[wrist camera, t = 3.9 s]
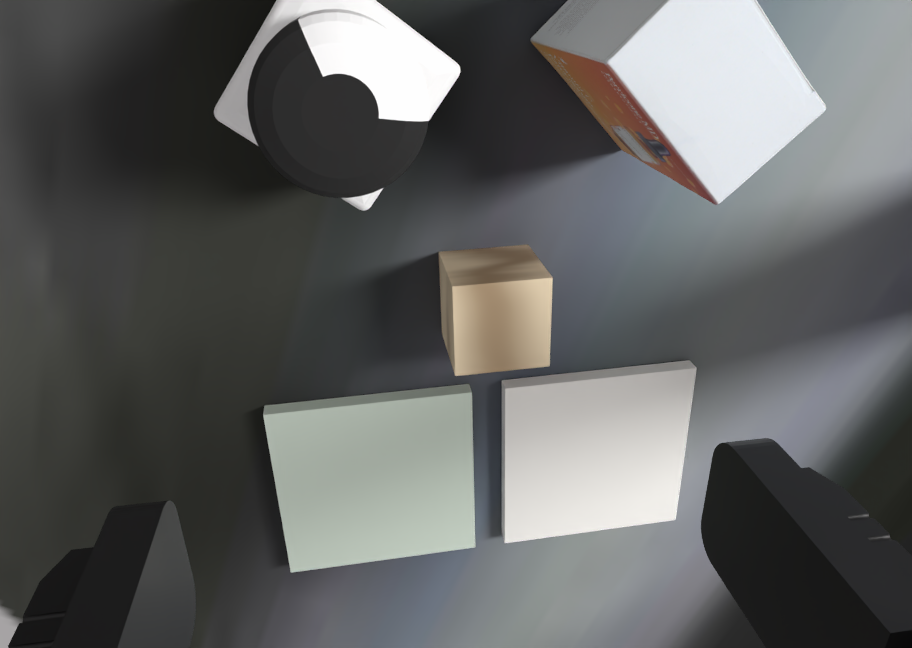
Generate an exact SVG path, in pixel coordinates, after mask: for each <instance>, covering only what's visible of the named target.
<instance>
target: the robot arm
mask: <svg viewBox="0 0 912 648" xmlns="http://www.w3.org/2000/svg"><path fill="white" fill-rule="evenodd" d="M701 533H702V539H703V544H704V547H705V551H706V553H707V556H708V558H709V560H710V562H711V564H712V565H713V567H714V568H715V570H716V571H717V573H718V575H719V576H720V578H721V579H722V581H723V582H724V584H725V585H726V587H727V589H728V590H729V592H730V593H731V595H732V596H733V598H734V599H735V601H736V603H737V604H738V606H739V607H740V609H741V610H742V612H743V613H744V615H745V616H746V618H747V620H748V621H749V623H750V624H751V626H752V627H753V629H754V630H755V632H756V634H757V635H758V637H759V638H760V640H761V641H762V643H763V644H764V646H765V648H912V556H911V555H910V554H909V553H908V552H907V551H906V550H905V549H904V548H903V547H902V546H901V545H900V544H899V543H898V542H897V541H896V540H891V539H890V534H889V533H888V532H887V531H886V530H885V529H884V528H883V527H882V526H881V525H880V524H879V523H878V522H877V521H876V520H875V519H874V518H872V519H870V518H869V513H868V512H867V511H866V510H865V509H864V508H863V507H862V506H861V505H860V504H859V503H858V502H857V501H856V500H855V499H854V498H853V497H852V496H851V495H850V494H849V493H848V492H847V491H846V490H845V489H844V488H843V487H841V486H839V485H838V484H836V483H834V482H833V481H831V480H829V479H828V478H826V477H824V476H822V475H821V474H819V473H817V472H816V471H814V470H812V469H811V468H800V467H799V465H798V464H797V463H796V462H795V461H794V460H793V459H792V458H791V457H790V456H789V455H788V454H787V453H786V452H785V451H784V450H783V449H782V448H781V447H780V446H779V445H778V444H777V443H776V442H775V441H774V440H772V439H769V438H763V439H754V440H745V441H735V442H726V443H721V444H719V445H718V446H717V447H716V448H715V450H714V453H713V457H712V463H711V469H710V474H709V480H708V486H707V491H706V497H705V503H704V508H703V514H702V520H701ZM195 613H196V594H195V585H194V579H193V575H192V571H191V567H190V563H189V558H188V554H187V550H186V546H185V542H184V538H183V533H182V529H181V525H180V521H179V517H178V513H177V509H176V507H175V505H174V503H173V502H172V501H162V502H153V503H143V504H134V505H125V506H116V507H113V508H112V509H111V510H110V512H109V514H108V516H107V518H106V520H105V523H104V525H103V527H102V530H101V532H100V534H99V537H98V539H97V541H96V544H95V546H94V547H92V548H83V549H75V550H71V551H70V552H69V553H68V554H67V555H66V556H65V557H64V558H63V559H62V560H61V561H60V562H59V563H58V564H57V565H56V566H55V567H54V568H53V569H52V570H51V571H50V572H49V573H48V574H47V575H46V576H45V577H44V578H43V579H42V580H41V581H40V583H39V585H38V587H37V589H36V591H35V593H34V595H33V597H32V599H31V601H30V603H29V605H28V607H27V609H26V611H25V613H24V615H23V623H19V625H18V627H17V629H16V631H15V633H14V635H13V637H12V640H11V642H10V643H9V645H8V647H9V648H189V647H190V643H191V638H192V634H193V629H194V623H195Z"/></svg>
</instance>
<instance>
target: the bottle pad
mask: <svg viewBox="0 0 912 648" xmlns="http://www.w3.org/2000/svg"><path fill="white" fill-rule="evenodd" d="M263 417H264V423H265V429H266V434H267V440H268V446H269V451H270V457H271V463H272V468H273V474H274V480H275V485H276V491H277V497H278V502H279V508H280V514H281V519H282V525H283V531H284V536H285V542H286V548H287V553H288V559H289V565H290V570H291V573H292V572H299V571H306V570H314V569H321V568H328V567H335V566H343V565H350V564H357V563H365V562H372V561H379V560H386V559H394V558H401V557H408V556H416V555H423V554H430V553H437V552H445V551H452V550H459V549H467V548H474V547H475V511H474V464H473V418H472V391H471V388H470V385H469V384H462V385H453V386H443V387H434V388H424V389H415V390H406V391H396V392H387V393H378V394H368V395H359V396H349V397H340V398H331V399H321V400H312V401H303V402H293V403H284V404H275V405H265V406H264V412H263Z"/></svg>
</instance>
